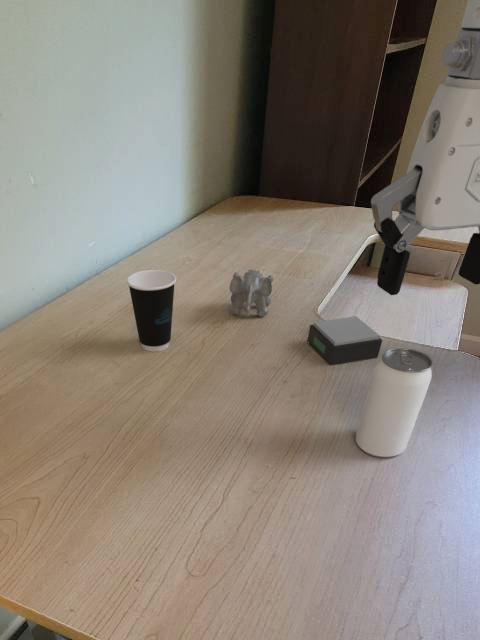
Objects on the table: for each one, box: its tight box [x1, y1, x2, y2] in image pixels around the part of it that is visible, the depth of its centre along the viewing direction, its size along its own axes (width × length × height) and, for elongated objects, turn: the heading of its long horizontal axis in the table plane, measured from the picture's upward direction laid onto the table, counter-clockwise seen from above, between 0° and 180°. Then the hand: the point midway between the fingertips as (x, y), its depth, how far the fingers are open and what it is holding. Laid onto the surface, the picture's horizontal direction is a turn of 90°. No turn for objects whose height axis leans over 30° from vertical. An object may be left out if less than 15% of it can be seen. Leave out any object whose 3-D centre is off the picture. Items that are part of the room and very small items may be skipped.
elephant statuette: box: [229, 269, 274, 318], centre depth 94 cm, size 9×12×8 cm
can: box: [355, 347, 433, 459], centre depth 64 cm, size 6×6×12 cm
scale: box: [307, 315, 383, 366], centre depth 86 cm, size 9×9×4 cm
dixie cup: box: [126, 269, 177, 353], centre depth 86 cm, size 8×8×11 cm
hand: (428, 284), depth 54 cm, fingers open, 9 cm apart
